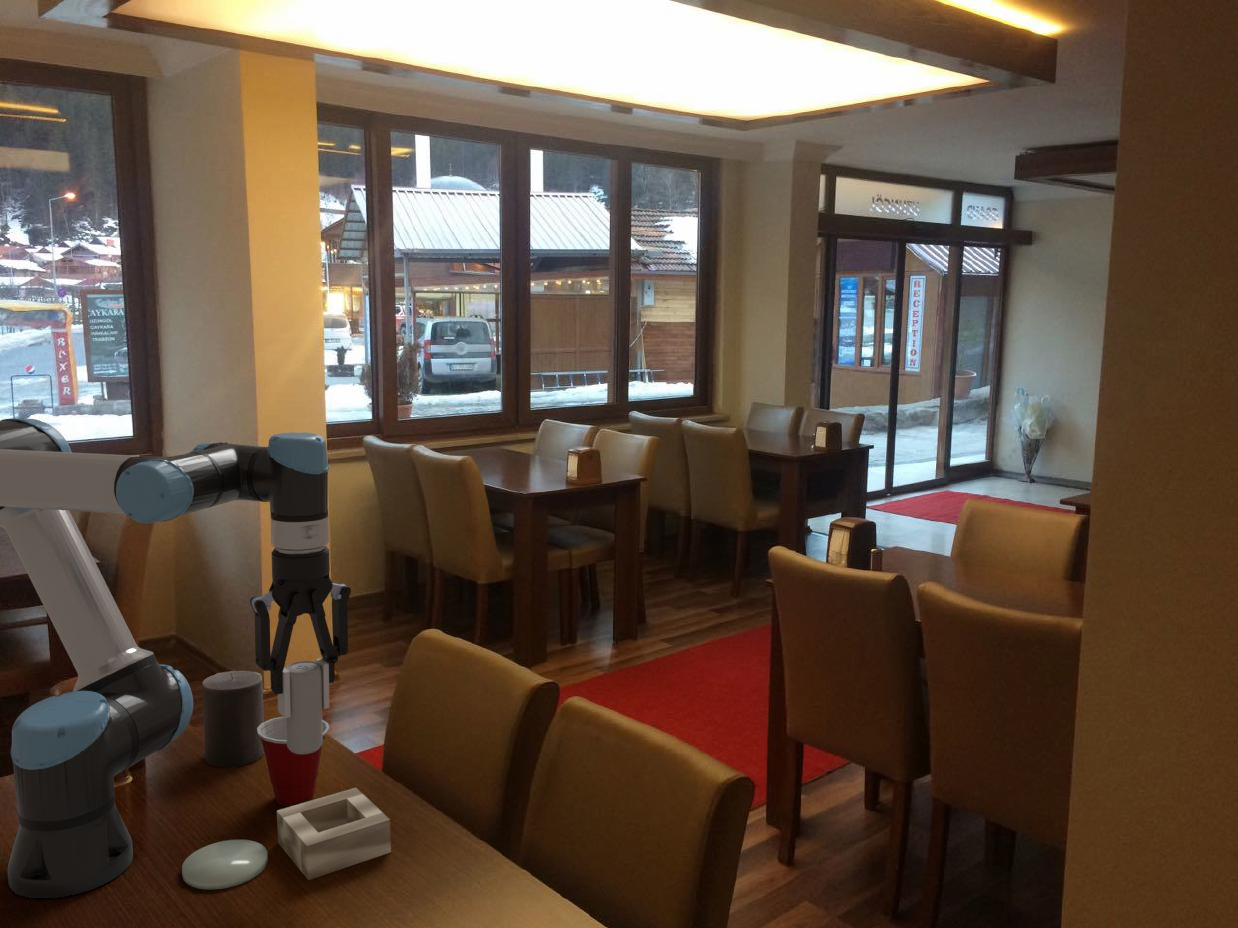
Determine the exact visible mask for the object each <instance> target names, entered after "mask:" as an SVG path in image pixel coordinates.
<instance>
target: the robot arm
mask: <svg viewBox="0 0 1238 928" xmlns="http://www.w3.org/2000/svg"><path fill="white" fill-rule="evenodd" d="M69 444H70V443H68V441H67V439H65V437H64V435H63V434H62V433H61V432H60V431H59V430H58V429H56V428H55V427H54V426H52V425H51V424H50V423H48V422H45V421H42V420H39V419H35V418H16V417H15V418H3V419H1V420H0V527H1V528H2V529H3V530H5V532H6V534H7V535H8V538H9V539H10V542H11V544H12V546H13V548H14V549H15V552H16V553H17V556H18V558H19V559H20V561H21V563H22V566H23V568H24V569H25V571H26V573H27V575H28V577H29V579H30V581H31V583H32V585H33V587H34V590H35V591H36V594H37V595H38V598H39V599H40V602H41V603H42V605H43V607H44V609H45V611H46V613H47V615H48V617H49V619H50V621H51V623H52V625H53V627H54V629H55V632H56V633H57V635H58V636H59V639H60V641H61V643H62V644H63V647H64V649H65V651H66V652H67V655H68V657H69V659H70V660H71V662H72V665H73V667H74V669H75V670H76V673H77V680H76V682H75V685H74V686H73V689H72V691H68V692H64V693H62V694H61V695H59V696H57V695H56V696H55V695H53V696H50V697H48V698H44V699H43V700H40V701H38V702H35V703H34V704H32V705H31V706H29V707H28V708H26V709H25V710H23V711H22V712H21V713H20V714H19V716H18V717H17V718H16V720H15V721H14V723H13V725H12V727H11V728H12V729H11V746H10V747H11V748H10V757H11V761H12V767H13V768H12V769H13V776H14V777H13V778H14V785H15V786H14V787H15V796H16V806H17V807H16V808H17V816H18V817H17V818H18V828H17V832H16V835H15V840H14V843H13V846H12V850H11V854H10V858H9V860H8V863H7V880H8V882H7V883H8V887H9V886H10V887H9V889H10V888H11V889H12V890H11V889H10V890H11V891H12V892H13V891H14V892H15V894H16V895H18V894H19V895H18V896H20V895H22V896H21V897H23V896H25V897H24V898H27V897H29V898H28V899H33V898H53V899H59V898H58V897H61V898H66V897H65V896H67V897H71V896H70V895H72V896H75V894H76V895H78V894H82V893H85V892H86V893H87V892H88V891H91V890H95V889H97V888H98V887H100V886H103V885H105V884H107V883H109V882H110V881H112V880H114V879H116V878H117V877H118V876H120V875H121V874H122V873H124V872H125V870H127V869H128V867H129V866H130V865H131V864H132V861H133V858H134V851H133V850H134V849H133V840H132V837H131V834H130V833H129V830H128V827H126V824H125V821H124V820H123V819H122V816H121V814H120V812H119V810H118V808H117V807H116V798H115V797H116V795H115V781H114V780H115V779H114V778H115V776H117V775H118V774H120V773H122V772H123V771H125V770H126V769H128V768H130V767H132V766H134V765H136V764H137V763H139V762H140V761H142V760H144V759H145V758H147V757H149V756H151V755H153V754H154V753H156V752H159V751H160V750H162V749H165V748H166V747H168V746H169V745H170V744H171V743H172V742H173V741H175V740H176V739H177V738H179V737H180V736H181V735H182V734H183V733H184V732H185V731H186V729H187V728H188V726H189V724H190V721H191V717H192V715H193V712H194V697H193V692H192V689H191V687H190V684H189V682H188V680H187V679H186V677H185V676H184V674H182V672H181V671H179V670H178V669H174V668H173V666H171V665H167V664H160V663H159V661H158V660H157V657H156V655H155V653H154V652H153V651H151V650H148V649H144V648H141V647H139V645H137V643H136V641H135V639H134V637H133V634H132V633H131V630H130V629H129V627H128V625H127V623H126V621H125V618H124V617H123V614H122V613H121V611H120V608H119V607H118V604H117V603H116V601H115V599H114V596H113V595H112V593H111V591H110V588H109V586H108V584H107V583H106V581H105V578H104V576H103V575H102V573H101V571H100V569H99V567H98V564H97V563H96V561H95V559H94V557H93V555H92V553H91V551H90V549H89V547H88V545H87V543H86V541H85V539H84V537H83V534H82V532H81V531H80V529H79V527H78V525H77V523H76V522H75V519H74V517H73V515H72V513H71V512H74V511H75V512H86V513H102V514H105V513H106V514H116V515H117V514H120V515H126V516H127V517H130V519H132V520H134V522H137V523H140V524H141V523H142V524H154V523H159V522H160V523H161V522H169V521H173V520H174V519H177V518H178V517H181V516H182V517H183V516H186V515H188V514H191V513H195V512H197V511H198V512H199V511H201V510H204V509H208V508H212V507H216V506H218V505H219V506H220V505H223V504H226V503H227V504H228V503H229V502H233V501H251V502H260V503H269V512H270V545H271V546H272V547H273V548H274V549H273V550H272V551H271V553H270V554H271V577H272V582H271V585H270V587H269V589H268V592H266V593H264V594H263V595H261V596H258V597H257V596H252V597H251V598H249V604H250V607H251V608H252V611H253V614H254V647H255V649H254V650H255V651H254V652H255V653H254V654H255V655H254V656H255V665H256V666H258V667H259V668H260V669H261V670H262V671H264V672H267V671H269V673H270V690H271V692H272V693H273V694H274V695H276V696H277V712H278V713H279V714H280V715H282V716H281V717H285V718H288V717H291V711H290V672H289V671H288V670H287V669H286V667H285V665H286V661H287V656H288V652H289V646H290V643H291V638H292V635H293V631H294V630H293V629H294V625H296V622H297V618H298V617H299V616H302V615H304V614H308V615H309V617H310V619H311V620H310V621H311V623H312V627H313V631H314V634H315V638H316V641H317V644H318V645H317V646H318V648H319V651H320V654H321V655H320V656H321V657H319V658H315V662H317V663H319V664H320V668H321V671H322V709H324V710H327V709H329V708H330V684H332V683H335V679H336V678H335V677H336V671H335V670H336V664H337V663H338V661H339V657H340V656H346V655H347V654H348V652H349V631H348V627H349V626H348V623H349V622H348V603H349V599H350V595H351V593H352V588H351V587H350V586H347V585H346V584H344V583H342V582H339V583H334V582H333V581H332V579H331V578H330V566H331V565H330V549H329V548H328V547H327V545H329V542H330V529H329V528H330V527H329V526H330V525H329V523H330V522H329V520H330V519H329V518H330V517H329V502H328V501H329V493H328V492H329V471H330V464H329V462H328V461H329V459H328V449H327V441H326V440H325V437H323V436H322V435H320V434H317V433H311V432H283V433H280V432H279V433H277V434H276V433H275V434H273V435H271V436H270V438H269V439H268V445H267V446H259V445H248V444H247V445H246V444H237V443H235V444H234V443H229V442H225V441H220V442H203V443H200V444H197V445H196V446H195V447H194V448H193V450H191V451H190V452H188V453H185V454H184V453H183V454H178V455H172V456H171V455H170V456H153V455H152V456H151V455H150V456H149V455H143V456H142V455H141V456H140V455H134V454H133V455H130V454H128V455H127V454H111V453H110V454H108V453H107V454H106V453H91V452H90V453H86V452H72V450H71V447H70V445H69ZM329 594H330V597H331V598H332V599H331V601H332V602H331V607H332V608H331V610H332V611H331V612H332V613H331V614H332V615H331V617H332V638H331V634H330V631H329V630H330V629H329V627H328V622H327V620H326V611H325V608H324V605H323V604H324V603H325V601H326V600H327V598H328V597H329ZM273 601H274V602H275V604H276V605H277V606H278V607H279V610H278V616H277V617H278V621H277V625H276V630H275V636H274V639H273V643H272V648H271V620H270V613H269V611H271V609H272V602H273ZM14 892H13V893H14Z"/></svg>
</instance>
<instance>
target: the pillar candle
mask: <svg viewBox="0 0 1238 928" xmlns="http://www.w3.org/2000/svg"><path fill="white" fill-rule="evenodd" d="M201 684H202V711H203V735H204V736H203V737H204V738H203V740H204V744H203V745H204V759H205V762H206V764H208V765H210V766H212V767H218V768H238V767H243V766H245V765H246V766H247V765H249V763H250V764H252V763H254V762H253V761H255V760H256V761H258V760H257V759H259V758H260V757H261V756H262V755H263V754H264V755H265V753H264V749H263V745H262V741H261V738H260V737H259V736H258V731H257V728H258V727H259V726H260V724H261V723H263V722H265V720H264V717H265V716H264V715H265V714H264V690H263V689H264V688H263V677H262V674H261V673H259V672H257V671H250V670H236V671H235V670H231V671H224V672H217V673H216V674H214V675H210V676H208V677H207V678H205V679H204V680H203V681H202V683H201ZM264 755H263V756H264ZM263 756H262V757H263ZM262 757H261V758H262ZM261 758H260V759H261ZM260 759H259V760H260ZM256 761H255V762H256ZM251 762H252V763H251Z"/></svg>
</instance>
